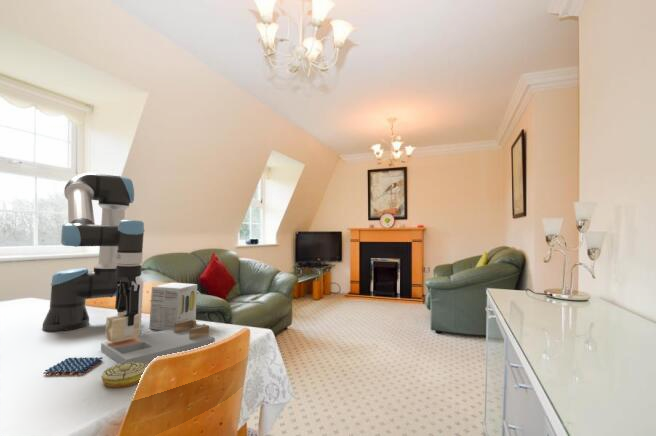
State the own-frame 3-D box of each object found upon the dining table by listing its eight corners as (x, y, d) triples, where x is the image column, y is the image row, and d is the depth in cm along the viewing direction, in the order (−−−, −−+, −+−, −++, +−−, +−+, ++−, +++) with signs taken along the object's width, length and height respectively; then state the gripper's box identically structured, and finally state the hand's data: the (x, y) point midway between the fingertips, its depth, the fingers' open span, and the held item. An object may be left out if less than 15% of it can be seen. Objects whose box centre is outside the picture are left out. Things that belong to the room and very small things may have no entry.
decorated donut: (127, 370, 95) (128, 357, 95) (156, 376, 92) (157, 362, 92) (91, 385, 85) (92, 370, 85) (122, 392, 82) (123, 377, 82)
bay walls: (174, 332, 123) (174, 323, 123) (191, 328, 129) (192, 319, 129) (190, 339, 116) (191, 329, 116) (208, 335, 121) (209, 325, 121)
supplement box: (176, 332, 132) (179, 288, 133) (148, 329, 135) (151, 286, 136) (196, 323, 145) (198, 283, 146) (170, 321, 148) (172, 282, 149)
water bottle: (119, 341, 119) (123, 272, 121) (121, 335, 125) (125, 270, 126) (146, 338, 123) (150, 271, 125) (147, 333, 129) (150, 269, 130)
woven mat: (66, 363, 100) (67, 356, 100) (103, 363, 101) (104, 356, 101) (40, 378, 89) (41, 370, 89) (82, 377, 90) (82, 370, 90)
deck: (100, 350, 109) (101, 342, 109) (184, 332, 132) (184, 325, 132) (125, 368, 96) (126, 359, 96) (214, 344, 118) (214, 337, 119)
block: (105, 338, 109) (106, 317, 110) (131, 333, 116) (132, 313, 116) (111, 342, 106) (113, 320, 106) (138, 336, 112) (139, 316, 112)
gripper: (106, 263, 115) (102, 329, 114) (128, 267, 104) (123, 342, 102) (130, 262, 121) (126, 325, 120) (152, 266, 109) (148, 336, 108)
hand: (124, 332), depth 111 cm, fingers closed on block, 6 cm apart
